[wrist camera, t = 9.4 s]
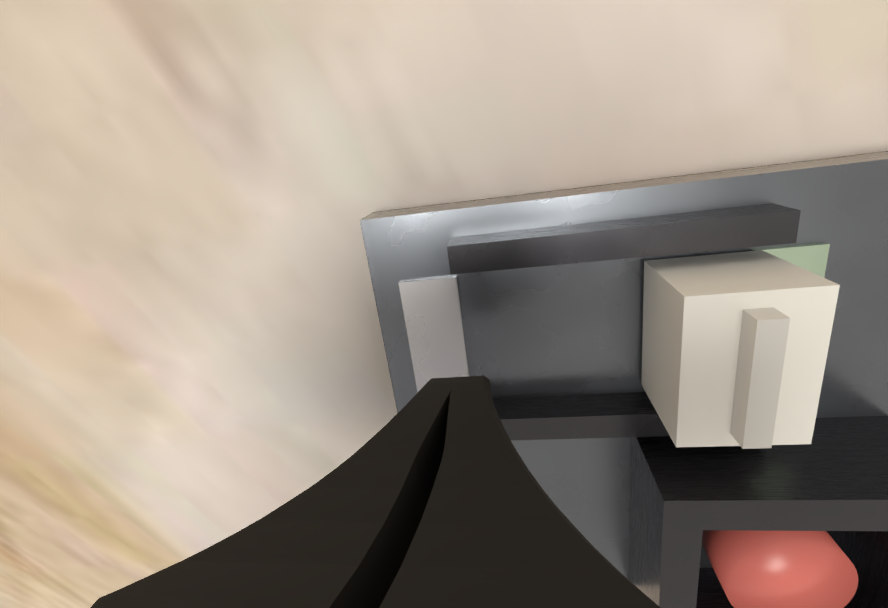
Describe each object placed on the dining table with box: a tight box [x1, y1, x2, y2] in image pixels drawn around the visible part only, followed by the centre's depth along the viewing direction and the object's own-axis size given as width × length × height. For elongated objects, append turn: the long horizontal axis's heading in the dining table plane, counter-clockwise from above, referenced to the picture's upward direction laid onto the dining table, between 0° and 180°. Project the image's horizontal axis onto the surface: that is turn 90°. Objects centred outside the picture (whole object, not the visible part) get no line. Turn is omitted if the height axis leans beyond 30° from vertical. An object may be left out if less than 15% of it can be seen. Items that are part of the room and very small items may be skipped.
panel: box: [360, 151, 888, 608], centre depth 13 cm, size 15×20×5 cm
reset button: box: [702, 530, 858, 608], centre depth 14 cm, size 3×3×3 cm
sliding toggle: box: [641, 250, 840, 449], centre depth 11 cm, size 4×3×4 cm
